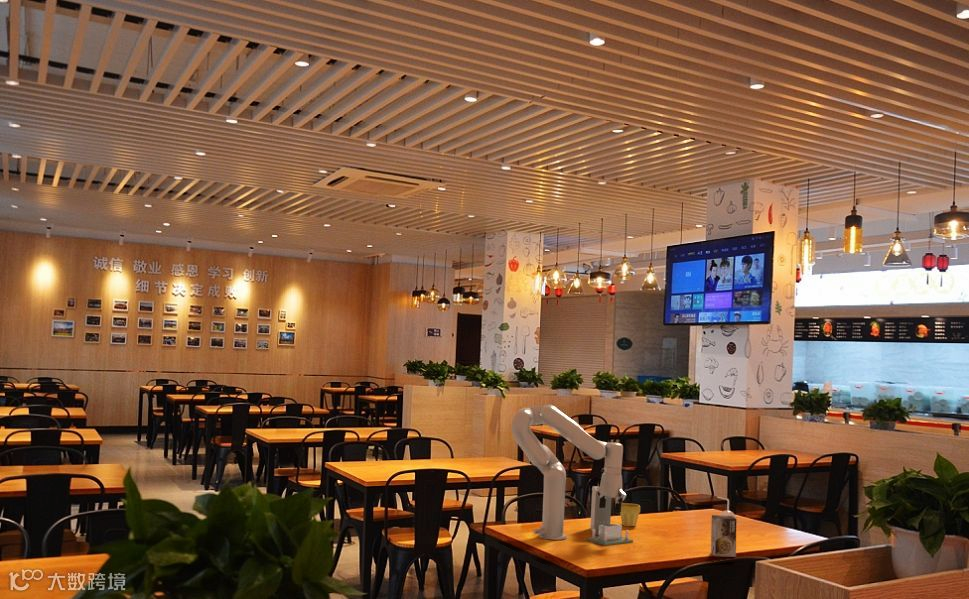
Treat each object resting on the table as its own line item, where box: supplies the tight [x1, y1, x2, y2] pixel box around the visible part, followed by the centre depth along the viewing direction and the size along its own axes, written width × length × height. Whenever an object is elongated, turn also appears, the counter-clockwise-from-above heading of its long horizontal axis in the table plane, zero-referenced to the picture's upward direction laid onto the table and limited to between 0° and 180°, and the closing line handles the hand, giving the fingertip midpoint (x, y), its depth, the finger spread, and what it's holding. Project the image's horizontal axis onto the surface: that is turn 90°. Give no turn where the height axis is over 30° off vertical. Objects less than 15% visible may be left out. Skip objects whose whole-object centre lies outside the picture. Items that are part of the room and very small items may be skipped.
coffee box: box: [710, 514, 738, 558], centre depth 362 cm, size 9×6×16 cm
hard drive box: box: [590, 485, 613, 536], centre depth 397 cm, size 16×8×20 cm, turn 179°
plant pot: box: [619, 502, 641, 527], centre depth 416 cm, size 10×10×10 cm
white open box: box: [597, 523, 623, 541], centre depth 377 cm, size 10×4×6 cm, turn 123°
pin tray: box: [587, 529, 634, 547], centre depth 377 cm, size 17×11×5 cm, turn 126°
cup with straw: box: [716, 495, 738, 520], centre depth 391 cm, size 8×9×20 cm
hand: (609, 509), depth 377 cm, fingers open, 9 cm apart
